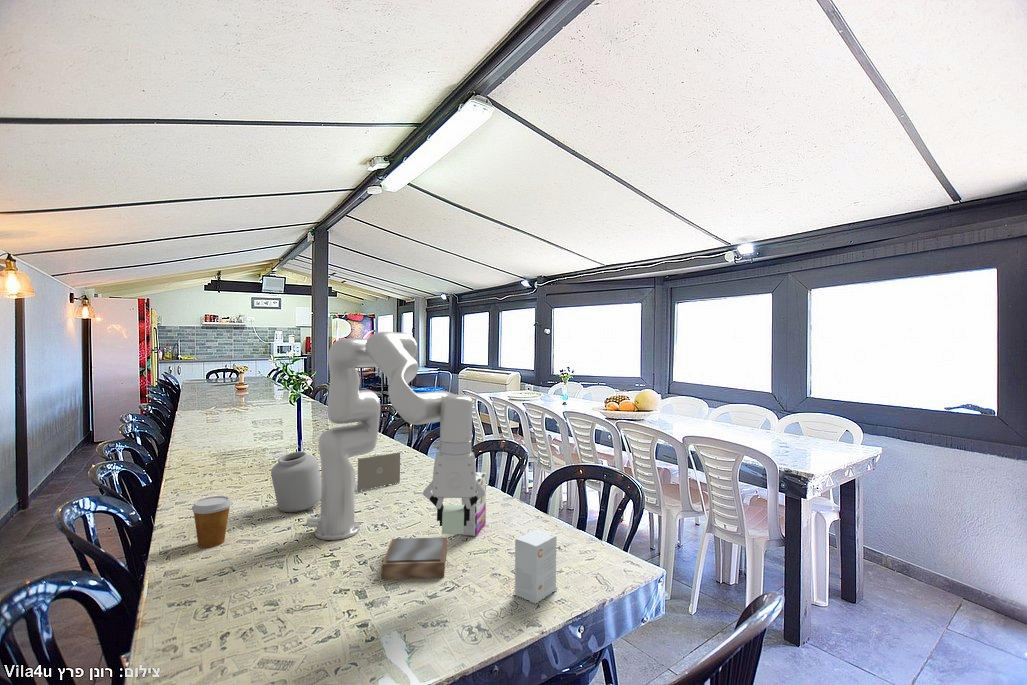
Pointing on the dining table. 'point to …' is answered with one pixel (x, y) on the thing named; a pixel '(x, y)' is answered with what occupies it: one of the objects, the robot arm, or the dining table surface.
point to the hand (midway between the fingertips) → (453, 522)
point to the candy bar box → (477, 510)
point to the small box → (535, 565)
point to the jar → (296, 481)
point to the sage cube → (453, 519)
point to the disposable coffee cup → (211, 520)
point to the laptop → (378, 471)
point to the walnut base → (415, 558)
